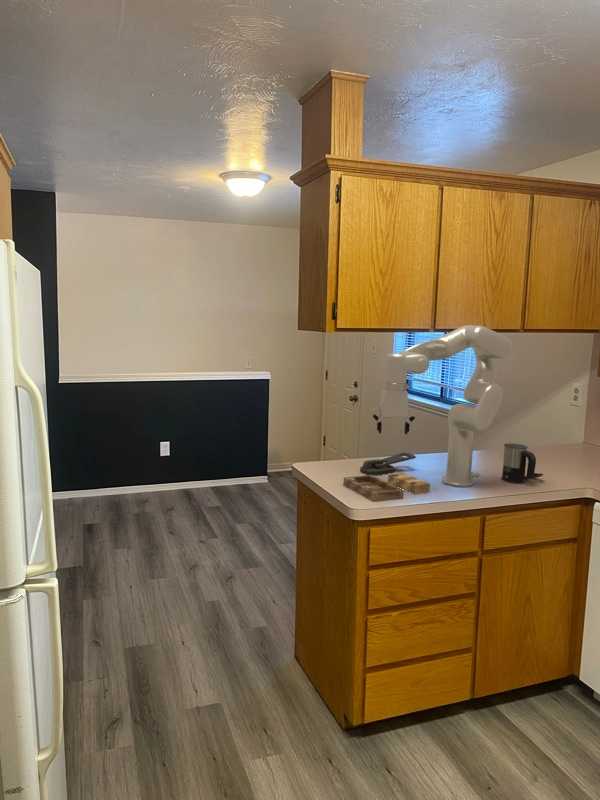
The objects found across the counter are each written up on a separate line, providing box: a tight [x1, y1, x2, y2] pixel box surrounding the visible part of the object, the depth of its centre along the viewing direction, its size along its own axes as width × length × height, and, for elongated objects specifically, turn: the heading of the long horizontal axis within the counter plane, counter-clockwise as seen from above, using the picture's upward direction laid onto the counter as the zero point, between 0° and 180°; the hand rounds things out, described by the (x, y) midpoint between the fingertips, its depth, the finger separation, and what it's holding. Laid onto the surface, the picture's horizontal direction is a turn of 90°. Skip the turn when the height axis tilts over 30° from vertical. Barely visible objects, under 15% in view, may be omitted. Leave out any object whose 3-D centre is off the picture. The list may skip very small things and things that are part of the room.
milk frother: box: [501, 442, 544, 484], centre depth 247 cm, size 14×16×15 cm
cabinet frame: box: [343, 475, 405, 503], centre depth 223 cm, size 22×12×4 cm, turn 25°
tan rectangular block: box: [387, 472, 431, 495], centre depth 229 cm, size 16×7×4 cm, turn 30°
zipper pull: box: [359, 451, 416, 477], centre depth 253 cm, size 9×7×25 cm
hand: (392, 433), depth 223 cm, fingers open, 9 cm apart
